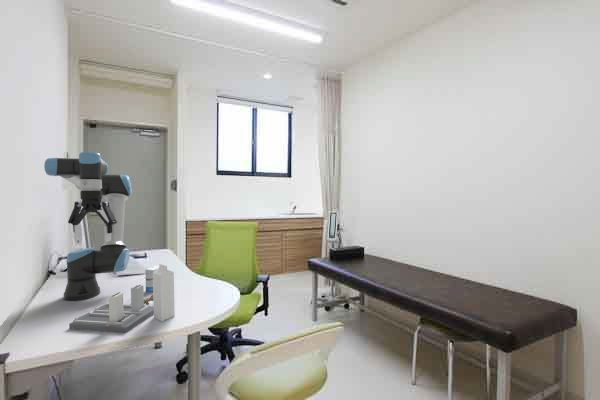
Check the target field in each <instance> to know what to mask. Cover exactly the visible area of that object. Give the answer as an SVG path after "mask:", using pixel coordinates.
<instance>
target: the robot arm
mask: <svg viewBox="0 0 600 400" xmlns="http://www.w3.org/2000/svg"><path fill="white" fill-rule="evenodd" d="M109 169H110V168H109V164H108V163H107V162H106V161H104V160H103V159H102V156H101V154H100V153H99V152H91V151H82V152H80V153H79V154H78V158H70V157H69V158H67V157H65V158H63V157H62V158H61V157H49V158H46V159H45V161H44V172H45V173H46V175H47V176H51V177H57V176H58V177H61V178H63V179H64V180H66V181H68V182H70V183H71V184H73V185H75V187H76V188H77V189H78V190H79V191H80V194H79V195H80V200H81V201H80V200H77V201H74V205H73V209H72V211H71V214H70V216H69V219H68V220H67V223H68V224H71V225H72V229H73V231H72V232H73V234H74V241H75V242H78V241H82V240H83V237H82V236H83V234H82V224H81V222H82V221H83V219H84V218H85V217H86V215H87V214H89V213H95V214H97V215H98V216H99V218H100V219H101V220H102V221H103V223H104V224H105V225H104V227H103V231H104V243H103V244H101V245H100V250H96V248H95V247H87V248H81V249H80V248H79V249H76V250H73V251H70V252H68V254H66V274H67V275H66V276H67V281H66V282H67V283H66V285H65V288H64V289H65V290H64V292H63V300H65V301H80V300H81V301H82V300H87V299H91V298H93V297H97V296H98V295H100V293H101V287H100V286H99V283H98V281H97V280H98V279H97V276H96V275H97V274H108V273H116V274H117V273H119V272H124V271H126V270H127V268H128V264H129V261H130V253H131V252H130V249H129V248H127V245H126V244H125V243H124V234H125V232H124V231H125V229H124V228H125V216H126V215H125V212H126V201H127V200H129V196H132V195H133V189H132V182H131V179H130V176H129V175H127V174H121V173H120V174H108V173H109ZM103 196H104V197H103ZM103 198H104V200H106V201H102V199H103Z"/></svg>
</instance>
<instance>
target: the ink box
mask: <svg viewBox="0 0 600 400" xmlns="http://www.w3.org/2000/svg"><path fill="white" fill-rule="evenodd" d="M158 268H159V265H154V266H151V267H148V268H146V269H144V270H145V271H144V273H145V292H147V293H153V272H154V271H156V270H157V269H158Z"/></svg>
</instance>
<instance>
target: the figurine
mask: <svg viewBox="0 0 600 400" xmlns="http://www.w3.org/2000/svg"><path fill="white" fill-rule="evenodd" d="M150 301H152V302H153V294H151V296H150V297H146V298H145V299H144V305H145V306H147V305H150ZM129 305H131V303H130V304H129Z"/></svg>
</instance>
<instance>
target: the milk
mask: <svg viewBox="0 0 600 400" xmlns="http://www.w3.org/2000/svg"><path fill="white" fill-rule="evenodd" d="M158 266H159V268H158V269H157V270H156V271H154V272H153V292H152V295H153V301H152V303H153V305H152V307H154V314H153V318H155V319H156V320H158V321H161V322H163V321H166V320H168V319H171V318H174V317H175V311H176V310H175V273H174V271H172V270H169V269H168V266H167V265H165V264H161V263H159V265H158Z"/></svg>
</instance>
